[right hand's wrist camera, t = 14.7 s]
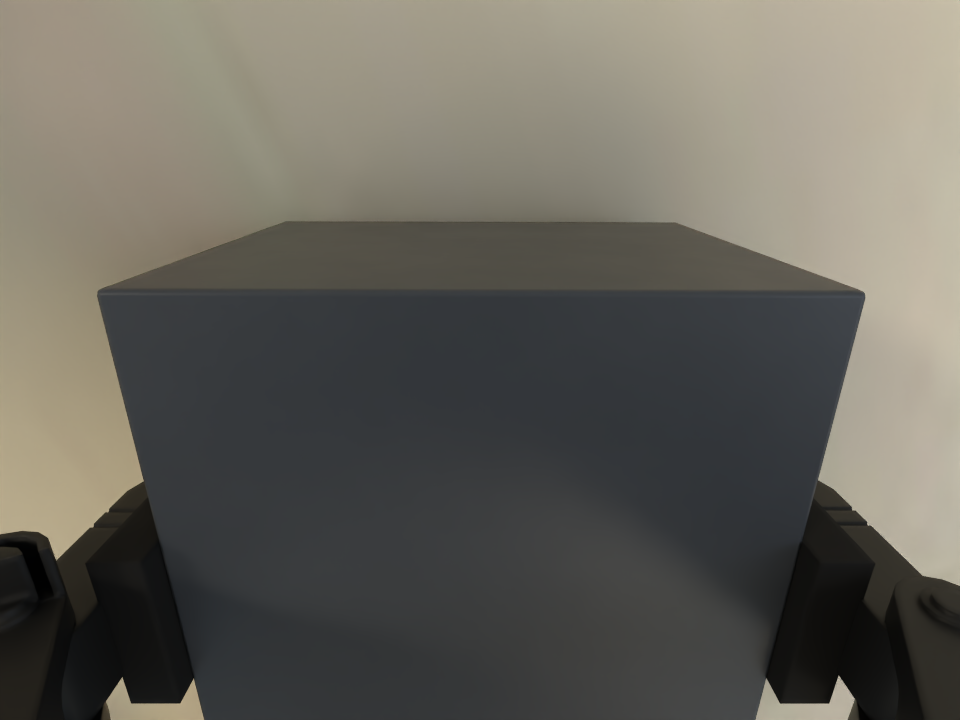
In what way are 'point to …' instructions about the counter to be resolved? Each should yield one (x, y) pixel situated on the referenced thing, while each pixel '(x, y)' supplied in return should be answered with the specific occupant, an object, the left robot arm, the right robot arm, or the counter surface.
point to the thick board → (480, 464)
